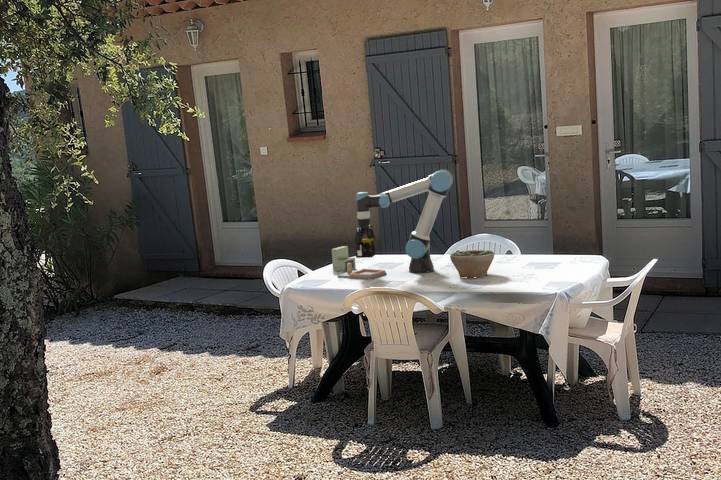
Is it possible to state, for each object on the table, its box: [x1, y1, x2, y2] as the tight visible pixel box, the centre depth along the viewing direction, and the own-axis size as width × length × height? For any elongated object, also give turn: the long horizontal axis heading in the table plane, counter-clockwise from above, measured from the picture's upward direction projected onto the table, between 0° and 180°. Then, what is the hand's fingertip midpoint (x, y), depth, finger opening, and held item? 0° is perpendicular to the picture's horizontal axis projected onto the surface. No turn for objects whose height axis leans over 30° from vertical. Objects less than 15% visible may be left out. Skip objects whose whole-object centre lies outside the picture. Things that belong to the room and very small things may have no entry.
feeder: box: [331, 245, 357, 273], centre depth 497 cm, size 9×12×14 cm
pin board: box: [337, 263, 388, 280], centre depth 473 cm, size 25×16×7 cm, turn 55°
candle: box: [354, 238, 377, 259], centre depth 468 cm, size 10×10×10 cm
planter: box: [449, 249, 495, 279], centre depth 450 cm, size 26×25×15 cm
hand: (365, 254), depth 469 cm, fingers closed on candle, 12 cm apart
